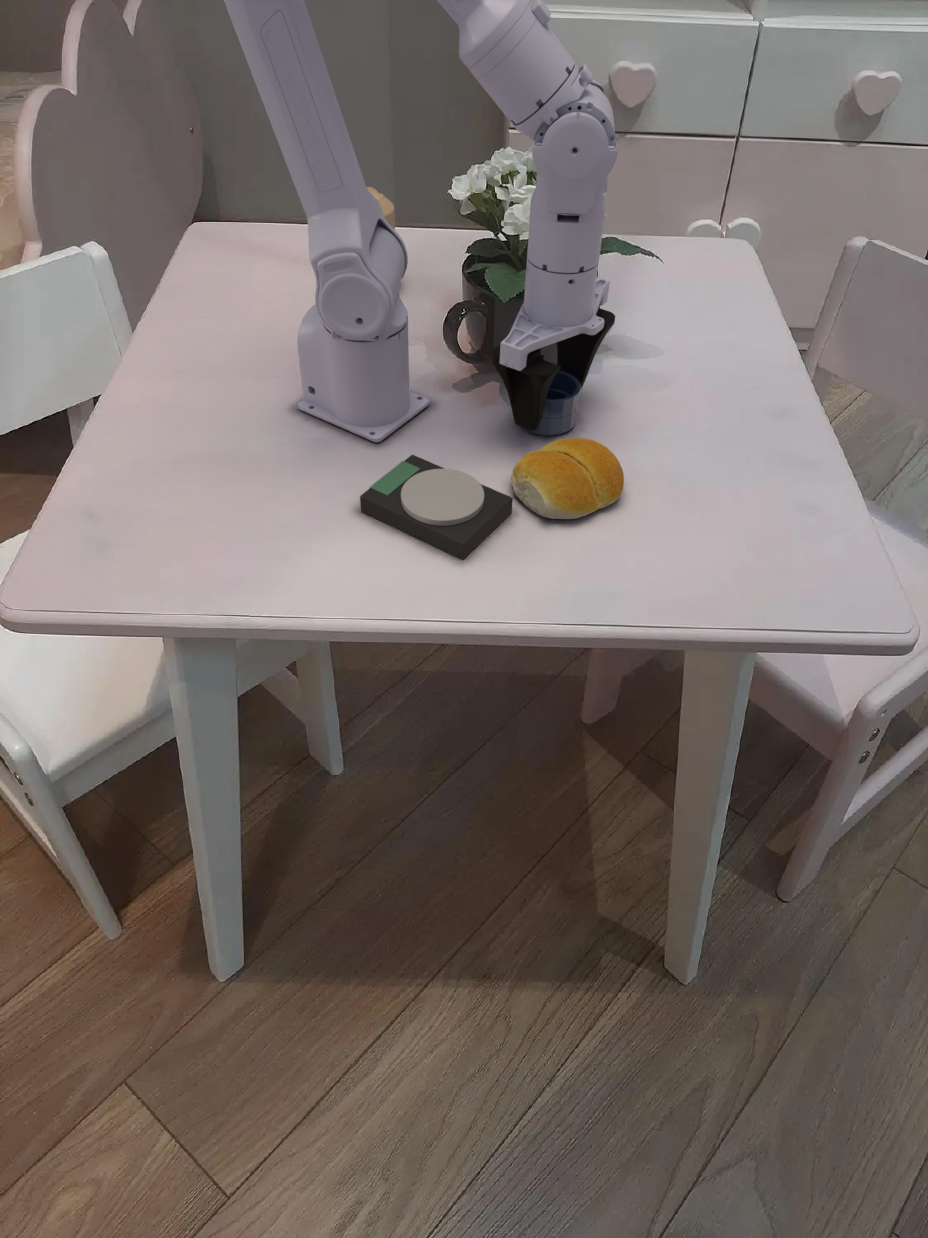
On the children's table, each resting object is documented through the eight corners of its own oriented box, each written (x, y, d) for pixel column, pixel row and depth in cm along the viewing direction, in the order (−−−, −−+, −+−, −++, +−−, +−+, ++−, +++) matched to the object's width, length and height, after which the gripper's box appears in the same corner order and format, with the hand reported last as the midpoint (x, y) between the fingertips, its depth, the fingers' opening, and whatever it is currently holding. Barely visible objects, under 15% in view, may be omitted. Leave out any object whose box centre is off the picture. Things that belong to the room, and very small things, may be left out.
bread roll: (640, 495, 78) (648, 455, 75) (558, 536, 74) (563, 495, 71) (574, 447, 82) (579, 408, 79) (493, 483, 78) (496, 443, 75)
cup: (506, 424, 84) (508, 388, 82) (537, 399, 88) (540, 362, 85) (557, 445, 82) (561, 407, 80) (586, 417, 86) (591, 381, 83)
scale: (360, 511, 75) (359, 489, 74) (412, 469, 79) (412, 447, 78) (462, 560, 72) (463, 538, 70) (511, 513, 76) (513, 491, 74)
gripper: (560, 307, 68) (545, 460, 78) (649, 239, 77) (626, 385, 87) (480, 280, 71) (475, 431, 81) (574, 218, 80) (560, 361, 89)
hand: (548, 406), depth 84 cm, fingers open, 7 cm apart
